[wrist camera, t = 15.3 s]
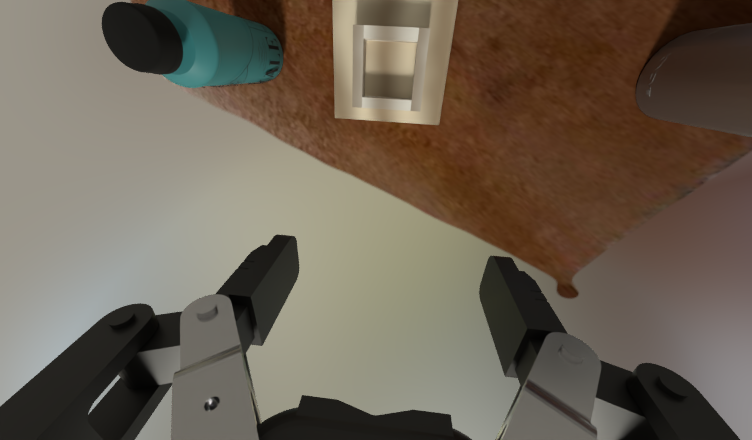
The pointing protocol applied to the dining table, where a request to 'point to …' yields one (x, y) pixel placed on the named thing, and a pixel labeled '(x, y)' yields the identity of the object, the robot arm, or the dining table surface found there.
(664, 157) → the dining table surface
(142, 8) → the beverage bottle
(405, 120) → the cream tray
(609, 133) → the dining table surface
